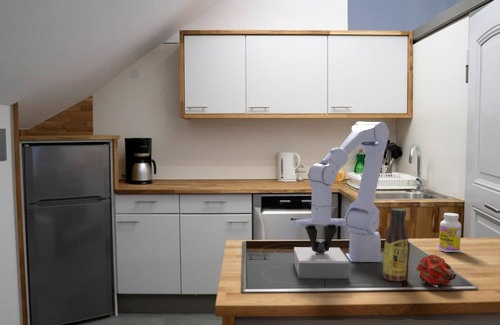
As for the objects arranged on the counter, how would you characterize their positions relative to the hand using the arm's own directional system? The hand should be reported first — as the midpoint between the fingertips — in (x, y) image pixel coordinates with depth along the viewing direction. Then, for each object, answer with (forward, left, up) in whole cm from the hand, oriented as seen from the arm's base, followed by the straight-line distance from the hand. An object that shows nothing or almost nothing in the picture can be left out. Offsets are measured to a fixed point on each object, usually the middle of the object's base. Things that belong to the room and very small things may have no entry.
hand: (320, 250), depth 138 cm
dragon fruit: (-30, +11, -6) cm, 33 cm away
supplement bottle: (-48, -22, -6) cm, 53 cm away
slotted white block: (0, 0, -6) cm, 6 cm away
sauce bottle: (-20, +7, -6) cm, 22 cm away
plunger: (0, 0, -5) cm, 5 cm away
